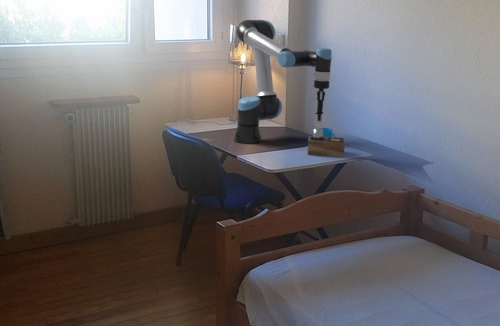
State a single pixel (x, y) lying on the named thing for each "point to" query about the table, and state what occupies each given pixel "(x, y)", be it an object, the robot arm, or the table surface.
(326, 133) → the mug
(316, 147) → the socket block
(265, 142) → the table surface
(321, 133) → the steel peg
